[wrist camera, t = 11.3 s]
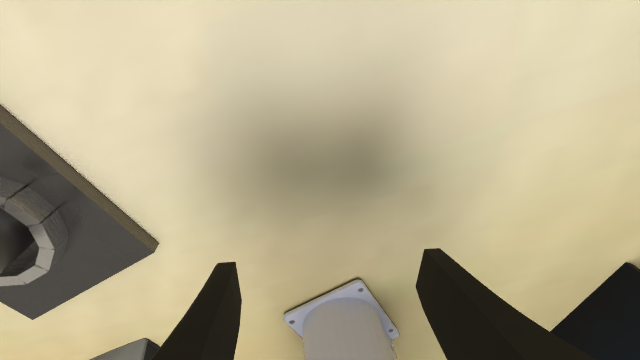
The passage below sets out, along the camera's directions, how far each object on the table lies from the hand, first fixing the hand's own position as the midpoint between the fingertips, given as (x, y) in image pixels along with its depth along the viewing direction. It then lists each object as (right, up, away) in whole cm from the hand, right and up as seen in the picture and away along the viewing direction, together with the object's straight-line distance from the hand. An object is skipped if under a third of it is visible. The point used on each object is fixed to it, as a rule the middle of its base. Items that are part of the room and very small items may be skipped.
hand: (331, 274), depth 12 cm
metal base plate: (-21, +1, +9) cm, 23 cm away
